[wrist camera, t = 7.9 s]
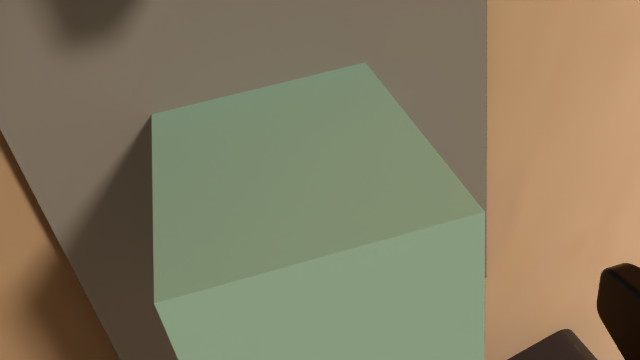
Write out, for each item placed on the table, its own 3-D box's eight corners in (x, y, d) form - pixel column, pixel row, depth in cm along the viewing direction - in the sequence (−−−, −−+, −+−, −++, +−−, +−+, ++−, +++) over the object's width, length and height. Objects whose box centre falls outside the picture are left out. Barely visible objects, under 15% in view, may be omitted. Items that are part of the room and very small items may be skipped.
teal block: (365, 62, 13) (485, 211, 8) (384, 228, 15) (484, 411, 11) (151, 114, 12) (154, 303, 8) (208, 277, 15) (234, 490, 10)
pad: (477, -110, 12) (486, -107, 11) (480, 268, 17) (486, 277, 17) (-55, 6, 11) (-61, 13, 10) (131, 369, 16) (131, 381, 16)
